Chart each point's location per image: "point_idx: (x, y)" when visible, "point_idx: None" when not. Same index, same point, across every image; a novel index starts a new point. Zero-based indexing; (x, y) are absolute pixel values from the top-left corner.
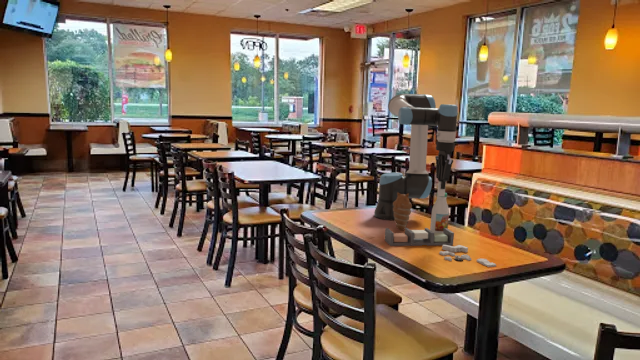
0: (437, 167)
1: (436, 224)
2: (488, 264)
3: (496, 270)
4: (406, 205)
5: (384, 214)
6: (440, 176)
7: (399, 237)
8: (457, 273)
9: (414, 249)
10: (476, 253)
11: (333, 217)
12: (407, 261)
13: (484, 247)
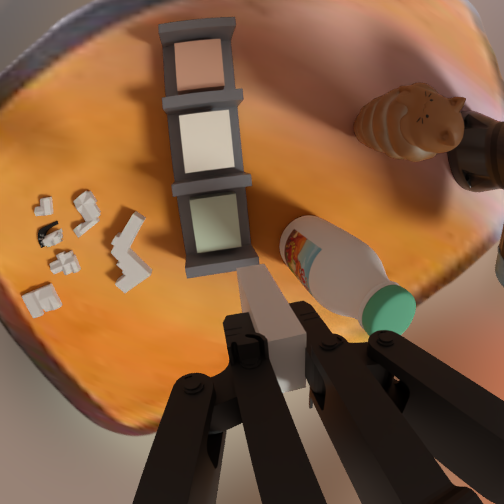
0: (468, 419)
1: (300, 239)
2: (26, 300)
3: (11, 304)
4: (398, 126)
5: None
6: (326, 387)
7: (175, 62)
8: None
9: (125, 114)
10: (117, 306)
11: (440, 7)
12: (27, 88)
13: (182, 345)
